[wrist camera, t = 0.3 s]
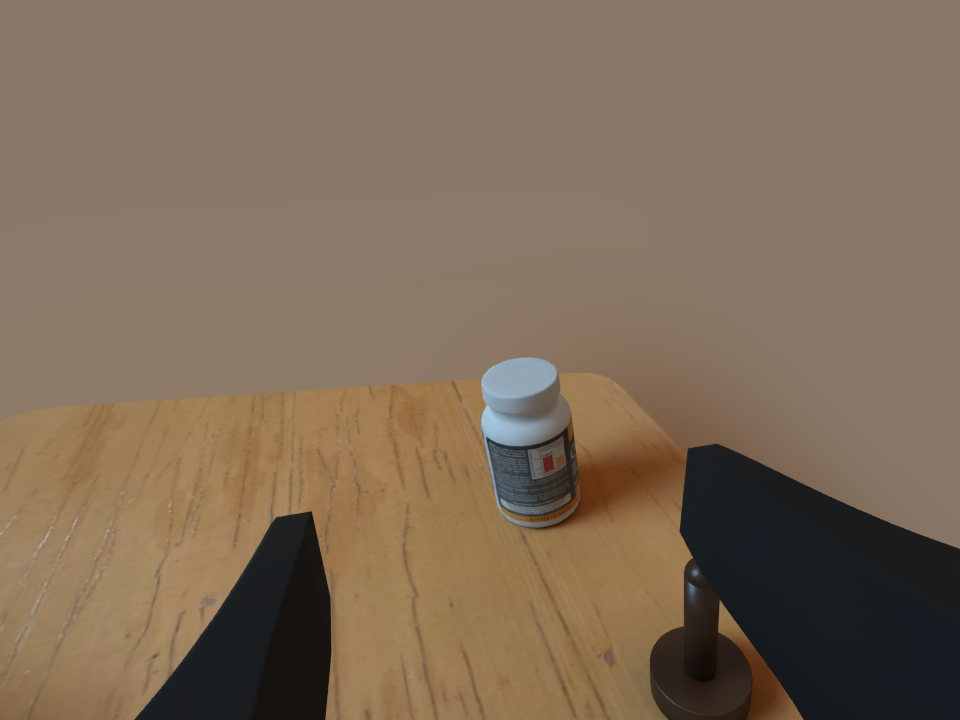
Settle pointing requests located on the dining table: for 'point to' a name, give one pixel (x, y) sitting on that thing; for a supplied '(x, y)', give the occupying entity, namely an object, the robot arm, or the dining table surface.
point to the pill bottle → (530, 442)
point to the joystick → (700, 662)
